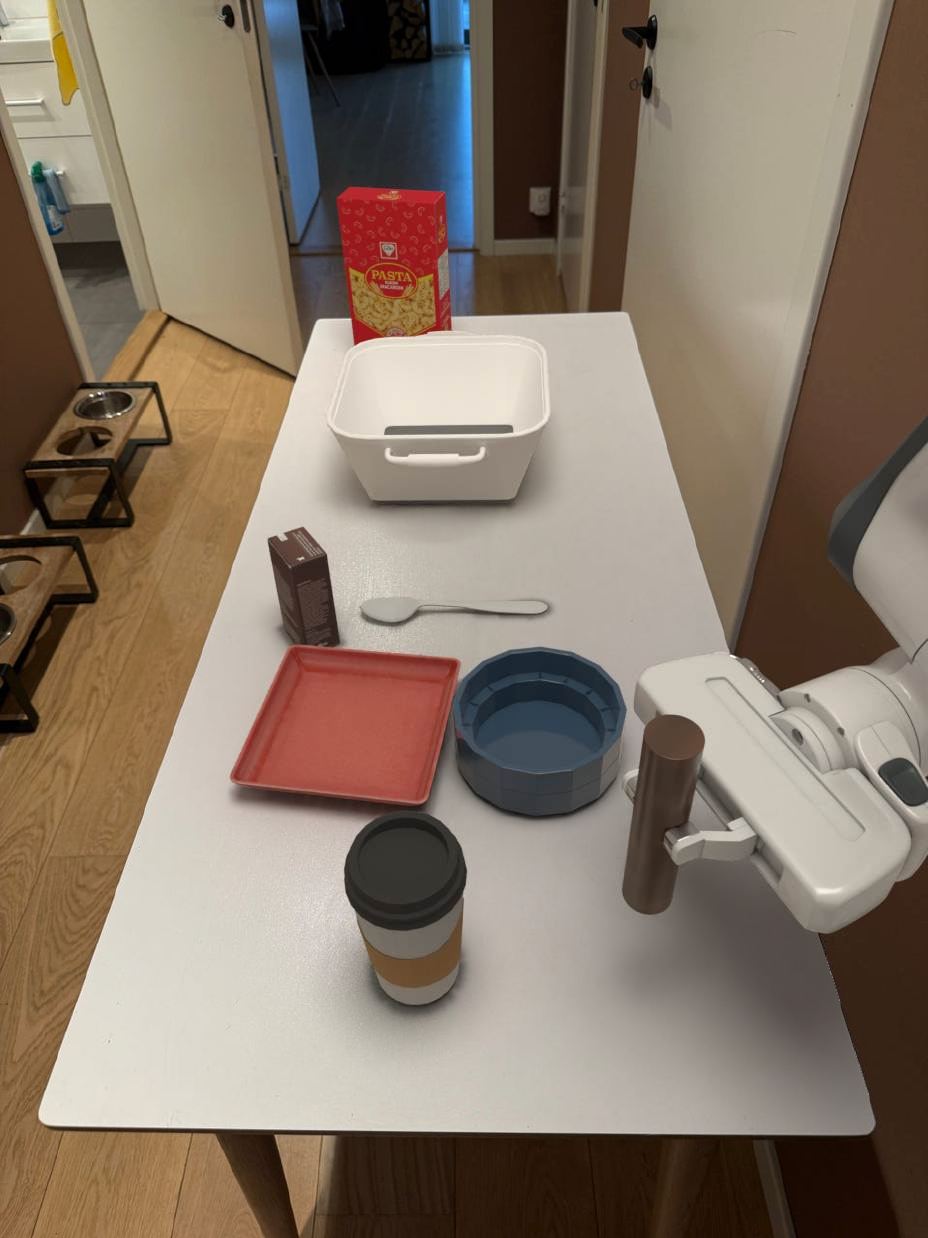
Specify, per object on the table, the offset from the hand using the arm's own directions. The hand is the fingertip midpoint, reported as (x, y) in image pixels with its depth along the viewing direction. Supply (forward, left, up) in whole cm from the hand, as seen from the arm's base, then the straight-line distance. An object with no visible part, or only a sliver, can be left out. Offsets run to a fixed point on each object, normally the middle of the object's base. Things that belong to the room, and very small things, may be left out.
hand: (648, 819), depth 56 cm
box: (+47, -13, -20) cm, 53 cm away
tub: (+56, -47, -20) cm, 76 cm away
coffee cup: (+13, +9, -20) cm, 26 cm away
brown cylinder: (0, -1, -9) cm, 9 cm away
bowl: (+18, -14, -20) cm, 30 cm away
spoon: (+37, -25, -20) cm, 49 cm away
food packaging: (+83, -69, -20) cm, 110 cm away
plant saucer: (+33, -5, -20) cm, 39 cm away
